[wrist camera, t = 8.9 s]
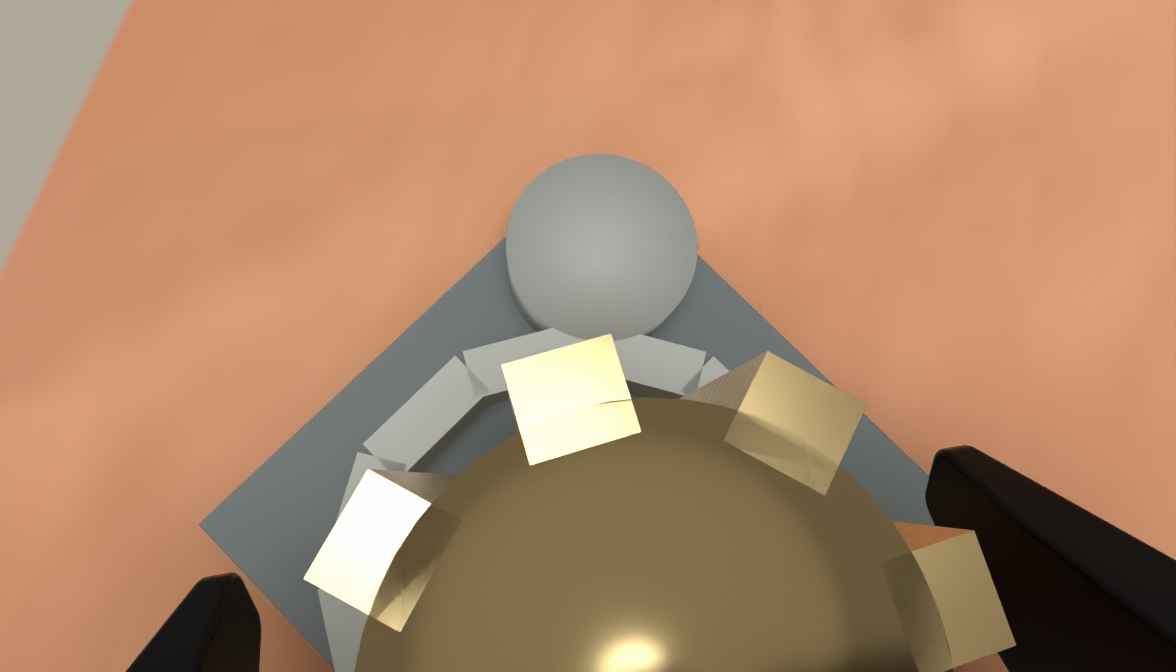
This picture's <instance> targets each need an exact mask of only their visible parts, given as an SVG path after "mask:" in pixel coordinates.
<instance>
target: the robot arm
mask: <svg viewBox="0 0 1176 672" xmlns="http://www.w3.org/2000/svg"><path fill="white" fill-rule="evenodd" d="M925 500H926V505H927V509H928V511H929V514H930V516H931V518H932V520H933V523H934V525H935V526H939V527H948V528H957V529H966V530H974V531H975V534H976V537H977V540H978V542H979V545H980V548H981V550H982V553H983V556H984V559H985V561H986V564H987V567H988V570H989V572H990V575H991V578H992V580H993V583H994V586H995V589H996V591H997V594H998V597H999V599H1000V602H1001V605H1002V608H1003V610H1004V613H1005V616H1006V619H1007V621H1008V624H1009V627H1010V629H1011V632H1012V635H1013V638H1014V640H1015V643H1016V646H1014V647H1011V648H1008V649H1005V650H1002V651H1000V652H998V654H999V655H1000V657H1001V659H1002V660H1003V662H1004V664H1005V666H1006V667H1007V669H1008V671H1009V672H1176V560H1174V559H1173V558H1171V557H1169V556H1167V555H1166V554H1164V553H1162V552H1160V551H1158V550H1157V549H1155V548H1153V547H1151V546H1149V545H1148V544H1146V543H1144V542H1142V541H1140V540H1139V539H1137V538H1135V537H1133V536H1132V535H1130V534H1128V533H1126V532H1124V531H1123V530H1121V529H1119V528H1117V527H1115V526H1114V525H1112V524H1110V523H1108V522H1107V521H1105V520H1103V519H1101V518H1099V517H1098V516H1096V515H1094V514H1092V513H1090V512H1089V511H1087V510H1085V509H1083V508H1081V507H1080V506H1078V505H1076V504H1074V503H1073V502H1071V501H1069V500H1067V499H1065V498H1064V497H1062V496H1060V495H1058V494H1056V493H1055V492H1053V491H1051V490H1049V489H1048V488H1046V487H1044V486H1042V485H1040V484H1039V483H1037V482H1035V481H1033V480H1031V479H1030V478H1028V477H1026V476H1024V475H1022V474H1021V473H1019V472H1017V471H1015V470H1014V469H1012V468H1010V467H1008V466H1006V465H1005V464H1003V463H1001V462H999V461H997V460H996V459H994V458H992V457H990V456H989V455H987V454H985V453H983V452H981V451H980V450H978V449H976V448H974V447H971V446H967V445H963V446H956V447H951V448H945V449H941V450H939V451H938V452H937V453H936V454H935V457H934V460H933V464H932V468H931V471H930V475H929V479H928V483H927V487H926V491H925ZM260 644H261V622H260V617H259V613H258V611H257V609H256V607H255V605H254V603H253V600H252V598H251V596H250V594H249V592H248V590H247V588H246V586H245V584H244V582H243V580H242V579H241V577H240V576H239V575H238V574H236V573H226V574H220V575H215V576H209V577H205V578H203V579H201V580H200V581H199V582H197V583H196V584H195V586H194V587H193V588H192V589H191V591H190V592H189V593H188V594H187V596H186V597H185V598H184V599H183V601H182V602H181V603H180V604H179V606H178V607H177V608H176V609H175V611H174V612H173V613H172V614H171V616H170V617H169V618H168V619H167V621H166V622H165V623H164V624H163V626H162V627H161V628H160V629H159V631H158V632H157V633H156V634H155V636H154V637H153V638H152V639H151V641H150V642H149V643H148V644H147V645H146V647H145V648H144V649H143V650H142V652H141V653H140V654H139V655H138V657H137V658H136V659H135V660H134V662H133V663H132V664H131V665H130V667H129V668H128V669H127V670H126V672H259V663H260Z"/></svg>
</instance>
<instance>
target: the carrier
mask: <svg viewBox="0 0 1176 672" xmlns="http://www.w3.org/2000/svg"><path fill="white" fill-rule="evenodd" d="M697 249H698V245H697V235H696V230H695V226H694V222H693V220H692V217H691V214H690V212H689V210H688V208H687V206H686V204H685V202H684V200H683V199H682V198H681V196H680V195H679V193H678V192H677V191H676V190H675V188H674V187H673V186H672V185H671V184H670V183H669V182H668V181H667V180H666V179H665V178H663V177H662V176H661V175H660V174H659V173H657V172H655V171H654V170H652V169H651V168H649V167H647V166H645V165H643V164H641V163H639V162H637V161H634V160H631V159H628V158H625V157H620V156H616V155H606V154H591V155H584V156H578V157H574V158H571V159H567V160H565V161H562V162H560V163H558V164H556V165H554V166H552V167H550V168H549V169H547V170H545V171H544V172H543V173H541V174H540V175H539V176H538V177H536V178H535V179H534V180H533V181H532V182H531V183H530V184H529V185H528V186H527V188H526V189H525V190H524V192H523V193H522V194H521V196H520V197H519V199H518V201H517V203H516V205H515V206H514V208H513V211H512V214H511V217H510V219H509V224H508V228H507V235H506V237H505V238H504V239H503V240H502V241H501V242H500V243H499V244H498V245H497V246H496V247H495V248H494V249H492V250H491V251H490V252H489V253H488V254H487V255H486V256H485V257H484V258H483V259H482V260H481V261H480V262H479V263H477V264H476V265H475V266H474V267H473V268H472V269H471V270H470V271H469V272H468V273H467V274H466V275H465V276H464V277H463V278H461V279H460V280H459V281H458V282H457V283H456V284H455V285H454V286H453V287H452V288H451V289H450V290H449V291H448V292H446V293H445V294H444V295H443V296H442V297H441V298H440V299H439V300H438V301H437V302H436V303H435V304H434V305H433V306H432V307H430V308H429V309H428V310H427V311H426V312H425V313H424V314H423V315H422V316H421V317H420V318H419V319H418V320H417V321H416V322H414V323H413V324H412V325H411V326H410V327H409V328H408V329H407V330H406V331H405V332H404V333H403V334H402V335H401V336H399V337H398V338H397V339H396V340H395V341H394V342H393V343H392V344H391V345H390V346H389V347H388V348H387V349H386V350H385V351H383V352H382V353H381V354H380V355H379V356H378V357H377V358H376V359H375V360H374V361H373V362H372V363H371V364H370V365H368V366H367V367H366V368H365V369H364V370H363V371H362V372H361V373H360V374H359V375H358V376H357V377H356V378H355V379H354V380H352V381H351V382H350V383H349V384H348V385H347V386H346V387H345V388H344V389H343V390H342V391H341V392H340V393H339V394H338V395H336V396H335V397H334V398H333V399H332V400H331V401H330V402H329V403H328V404H327V405H326V406H325V407H324V408H323V409H321V410H320V411H319V412H318V413H317V414H316V415H315V416H314V417H313V418H312V419H311V420H310V421H309V422H308V423H307V424H305V425H304V426H303V427H302V428H301V429H300V430H299V431H298V432H297V433H296V434H295V435H294V436H293V437H292V438H291V439H289V440H288V441H287V442H286V443H285V444H284V445H283V446H282V447H281V448H280V449H279V450H278V451H277V452H276V453H274V454H273V455H272V456H271V457H270V458H269V459H268V460H267V461H266V462H265V463H264V464H263V465H262V466H261V467H260V468H258V469H257V470H256V471H255V472H254V473H253V474H252V475H251V476H250V477H249V478H248V479H247V480H246V481H245V482H243V483H242V484H241V485H240V486H239V487H238V488H237V489H236V490H235V491H234V492H233V493H232V494H231V495H230V496H229V497H227V498H226V499H225V500H224V501H223V502H222V503H221V504H220V505H219V506H218V507H217V508H216V509H215V510H214V511H213V512H211V513H210V514H209V515H208V516H207V517H206V518H205V519H204V520H203V521H202V522H201V523H200V524H199V526H200V527H201V528H202V529H203V530H204V531H205V532H206V533H207V534H208V535H209V536H210V537H211V538H212V539H213V540H214V542H215V543H216V544H217V545H218V546H219V547H220V548H221V549H222V550H223V551H224V552H225V553H226V554H227V555H228V556H229V557H230V558H231V560H232V561H233V562H234V563H235V564H236V565H237V566H238V567H239V568H240V569H241V570H242V571H243V572H244V573H245V574H246V575H247V576H248V578H249V579H250V580H251V581H252V582H253V583H254V584H255V585H256V586H257V587H258V588H259V589H260V590H261V591H262V592H263V593H264V594H265V596H266V597H267V598H268V599H269V600H270V601H271V602H272V603H273V604H274V605H275V606H276V607H277V608H278V609H279V610H280V611H281V612H282V614H283V615H284V616H285V617H286V618H287V619H288V620H289V621H290V622H291V623H292V624H293V625H294V626H295V627H296V628H297V629H298V631H299V632H300V633H301V634H302V635H303V636H304V637H305V638H306V639H307V640H308V641H309V642H310V643H311V644H312V645H313V646H314V647H315V649H316V650H317V651H318V652H319V653H320V654H321V655H322V656H323V657H324V658H325V659H326V660H327V661H328V662H329V663H330V664H331V665H332V667H333V668H334V669H335V672H354V670H355V665H356V660H357V655H358V651H359V646H360V641H361V636H362V632H363V629H364V626H365V624H366V621H367V618H368V614H366V613H364V612H362V611H361V610H359V609H357V608H355V607H353V606H352V605H350V604H348V603H346V602H344V601H343V600H341V599H339V598H337V597H335V596H334V595H332V594H330V593H328V592H326V591H325V590H323V589H321V588H319V587H317V586H316V585H314V584H312V583H310V582H308V581H307V580H305V579H304V577H305V575H306V573H307V572H308V570H309V568H310V567H311V565H312V563H313V562H314V560H315V558H316V556H317V555H318V553H319V551H320V550H321V548H322V546H323V545H324V543H325V541H326V539H327V538H328V536H329V534H330V533H331V531H332V529H333V528H334V526H335V524H336V522H337V521H338V519H339V517H340V516H341V514H342V512H343V511H344V509H345V507H346V505H347V504H348V502H349V500H350V499H351V497H352V495H353V493H354V492H355V490H356V488H357V487H358V485H359V483H360V482H361V480H362V478H363V476H364V475H365V473H366V471H367V470H368V469H376V470H391V471H406V472H420V473H435V474H450V475H460V474H461V473H462V472H463V471H464V470H465V469H466V468H467V467H469V466H470V465H471V464H472V463H473V462H474V461H476V460H477V459H479V458H480V457H482V456H483V455H484V454H486V453H487V452H489V451H490V450H492V449H493V448H494V447H496V446H497V445H499V444H500V443H501V442H503V441H504V440H506V439H508V438H510V437H512V436H514V435H516V434H518V433H517V429H516V425H515V421H514V417H513V412H512V408H511V404H510V400H509V396H508V391H507V387H506V383H505V379H504V375H503V370H502V366H501V365H502V364H505V363H509V362H512V361H516V360H519V359H523V358H526V357H530V356H533V355H537V354H541V353H544V352H548V351H551V350H555V349H558V348H562V347H565V346H569V345H572V344H576V343H579V342H583V341H586V340H590V339H593V338H597V337H600V336H604V335H607V334H611V335H612V339H613V342H614V345H615V348H616V352H617V355H618V358H619V361H620V365H621V368H622V371H623V374H624V377H625V381H626V384H627V387H628V390H629V394H630V397H631V399H639V398H668V399H679V398H681V397H683V396H685V395H687V394H689V393H691V392H692V391H694V390H696V389H698V388H700V387H702V386H704V385H705V384H707V383H709V382H711V381H713V380H715V379H717V378H718V377H720V376H722V375H724V374H726V373H728V372H730V371H731V370H733V369H735V368H737V367H739V366H741V365H743V364H744V363H746V362H748V361H750V360H752V359H754V358H756V357H757V356H759V355H761V354H763V353H765V352H767V351H769V352H770V353H772V354H774V355H776V356H778V357H780V358H782V359H783V360H785V361H787V362H789V363H791V364H793V365H794V366H796V367H798V368H800V369H802V370H804V371H806V372H807V373H809V374H811V375H813V376H815V377H817V378H819V379H820V380H822V381H824V382H826V383H828V384H830V385H831V386H833V387H835V386H834V385H833V384H832V383H831V382H830V381H829V380H828V379H827V378H826V377H825V376H824V375H823V374H822V373H821V372H820V371H818V370H817V369H816V368H815V367H814V366H813V365H812V364H811V363H810V362H809V361H808V360H807V359H806V358H805V357H804V356H803V355H802V354H801V353H800V352H799V351H798V350H797V349H796V348H794V347H793V346H792V345H791V344H790V343H789V342H788V341H787V340H786V339H785V338H784V337H783V336H782V335H781V334H780V333H779V332H778V331H777V330H776V329H775V328H774V327H773V326H771V325H770V324H769V323H768V322H767V321H766V320H765V319H764V318H763V317H762V316H761V315H760V314H759V313H758V312H757V311H756V310H755V309H754V308H753V307H752V306H751V305H750V304H749V303H747V302H746V301H745V300H744V299H743V298H742V297H741V296H740V295H739V294H738V293H737V292H736V291H735V290H734V289H733V288H732V287H731V286H730V285H729V284H728V283H727V282H726V281H724V280H723V279H722V278H721V277H720V276H719V275H718V274H717V273H716V272H715V271H714V270H713V269H712V268H711V267H710V266H709V265H708V264H707V263H706V262H705V261H704V260H703V259H702V258H700V257H699V256H698V255H697ZM835 388H836V387H835ZM839 466H840V467H841V468H843V469H844V470H845V471H846V472H848V473H849V474H850V475H851V476H852V477H853V478H854V479H855V480H856V481H857V482H858V483H859V484H860V485H861V486H862V487H863V488H864V489H865V490H866V491H867V492H868V493H869V494H870V495H871V497H872V498H873V499H874V500H875V501H876V502H877V503H878V504H879V505H880V506H881V508H882V509H883V510H884V512H885V513H886V514H887V516H888V517H889V519H890V520H891V521H895V522H904V523H913V524H922V525H931V526H935V525H934V523H933V520H932V518H931V516H930V514H929V511H928V509H927V505H926V500H925V491H926V487H927V483H928V479H929V476H928V475H927V474H926V473H925V472H924V471H923V470H922V469H921V468H920V467H919V466H918V465H917V464H916V463H915V462H913V461H912V460H911V459H910V458H909V457H908V456H907V455H906V454H905V453H904V452H903V451H902V450H901V449H900V448H899V447H898V446H897V445H896V444H895V443H894V442H893V441H892V440H891V439H889V438H888V437H887V436H886V435H885V434H884V433H883V432H882V431H881V430H880V429H879V428H878V427H877V426H876V425H875V424H874V423H873V422H872V421H871V420H870V419H869V418H868V417H867V416H865V415H864V414H862V417H861V419H860V421H859V423H858V425H857V427H856V430H855V432H854V434H853V436H852V438H851V440H850V443H849V445H848V447H847V449H846V451H845V453H844V456H843V458H842V460H841V462H840V464H839Z"/></svg>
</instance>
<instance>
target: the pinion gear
mask: <svg viewBox="0 0 1176 672" xmlns="http://www.w3.org/2000/svg"><path fill="white" fill-rule="evenodd" d="M501 366H502V370H503V375H504V379H505V383H506V387H507V391H508V396H509V400H510V404H511V408H512V412H513V417H514V421H515V425H516V429H517V433H518V434H516V435H514V436H512V437H510V438H508V439H506V440H504V441H503V442H501V443H500V444H499V445H497V446H496V447H494V448H493V449H492V450H490V451H489V452H487V453H486V454H484V455H483V456H482V457H480V458H479V459H477V460H476V461H474V462H473V463H472V464H471V465H470V466H469V467H467V468H466V469H465V470H464V471H463V472H462V473H461V474H460V475H450V474H435V473H420V472H406V471H391V470H376V469H368V470H367V471H366V473H365V475H364V476H363V478H362V480H361V482H360V483H359V485H358V487H357V488H356V490H355V492H354V493H353V495H352V497H351V499H350V500H349V502H348V504H347V505H346V507H345V509H344V511H343V512H342V514H341V516H340V517H339V519H338V521H337V522H336V524H335V526H334V528H333V529H332V531H331V533H330V534H329V536H328V538H327V539H326V541H325V543H324V545H323V546H322V548H321V550H320V551H319V553H318V555H317V556H316V558H315V560H314V562H313V563H312V565H311V567H310V568H309V570H308V572H307V573H306V575H305V577H304V579H305V580H307V581H308V582H310V583H312V584H314V585H316V586H317V587H319V588H321V589H323V590H325V591H326V592H328V593H330V594H332V595H334V596H335V597H337V598H339V599H341V600H343V601H344V602H346V603H348V604H350V605H352V606H353V607H355V608H357V609H359V610H361V611H362V612H364V613H366V614H368V618H367V621H366V624H365V626H364V629H363V632H362V636H361V641H360V646H359V651H358V655H357V660H356V665H355V670H354V672H953V668H955V667H958V666H960V665H963V664H966V663H969V662H972V661H974V660H977V659H980V658H983V657H986V656H988V655H991V654H994V653H997V652H1000V651H1002V650H1005V649H1008V648H1011V647H1014V646H1016V643H1015V640H1014V638H1013V635H1012V632H1011V629H1010V627H1009V624H1008V621H1007V619H1006V616H1005V613H1004V610H1003V608H1002V605H1001V602H1000V599H999V597H998V594H997V591H996V589H995V586H994V583H993V580H992V578H991V575H990V572H989V570H988V567H987V564H986V561H985V559H984V556H983V553H982V550H981V548H980V545H979V542H978V540H977V537H976V534H975V531H974V530H966V529H957V528H948V527H939V526H931V525H922V524H913V523H904V522H895V521H891V520H890V519H889V517H888V516H887V514H886V513H885V512H884V510H883V509H882V508H881V506H880V505H879V504H878V503H877V502H876V501H875V500H874V499H873V498H872V497H871V495H870V494H869V493H868V492H867V491H866V490H865V489H864V488H863V487H862V486H861V485H860V484H859V483H858V482H857V481H856V480H855V479H854V478H853V477H852V476H851V475H850V474H849V473H848V472H846V471H845V470H844V469H843V468H841V467H840V466H839V464H840V462H841V460H842V458H843V456H844V453H845V451H846V449H847V447H848V445H849V443H850V440H851V438H852V436H853V434H854V432H855V430H856V427H857V425H858V423H859V421H860V419H861V417H862V414H863V412H864V410H865V408H866V406H867V404H865V403H863V402H861V401H859V400H857V399H856V398H854V397H852V396H850V395H848V394H846V393H844V392H843V391H841V390H839V389H837V388H835V387H833V386H831V385H830V384H828V383H826V382H824V381H822V380H820V379H819V378H817V377H815V376H813V375H811V374H809V373H807V372H806V371H804V370H802V369H800V368H798V367H796V366H794V365H793V364H791V363H789V362H787V361H785V360H783V359H782V358H780V357H778V356H776V355H774V354H772V353H770V352H769V351H767V352H765V353H763V354H761V355H759V356H757V357H756V358H754V359H752V360H750V361H748V362H746V363H744V364H743V365H741V366H739V367H737V368H735V369H733V370H731V371H730V372H728V373H726V374H724V375H722V376H720V377H718V378H717V379H715V380H713V381H711V382H709V383H707V384H705V385H704V386H702V387H700V388H698V389H696V390H694V391H692V392H691V393H689V394H687V395H685V396H683V397H681V398H679V399H668V398H639V399H631V397H630V394H629V390H628V387H627V384H626V381H625V377H624V374H623V371H622V368H621V365H620V361H619V358H618V355H617V352H616V348H615V345H614V342H613V339H612V335H611V334H607V335H604V336H600V337H597V338H593V339H590V340H586V341H583V342H579V343H576V344H572V345H569V346H565V347H562V348H558V349H555V350H551V351H548V352H544V353H541V354H537V355H533V356H530V357H526V358H523V359H519V360H516V361H512V362H509V363H505V364H502V365H501Z"/></svg>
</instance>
